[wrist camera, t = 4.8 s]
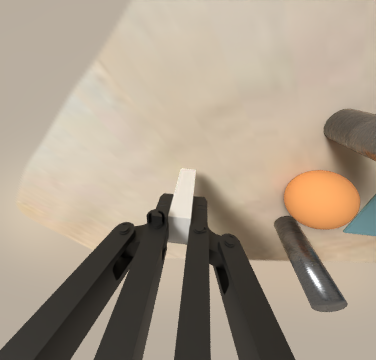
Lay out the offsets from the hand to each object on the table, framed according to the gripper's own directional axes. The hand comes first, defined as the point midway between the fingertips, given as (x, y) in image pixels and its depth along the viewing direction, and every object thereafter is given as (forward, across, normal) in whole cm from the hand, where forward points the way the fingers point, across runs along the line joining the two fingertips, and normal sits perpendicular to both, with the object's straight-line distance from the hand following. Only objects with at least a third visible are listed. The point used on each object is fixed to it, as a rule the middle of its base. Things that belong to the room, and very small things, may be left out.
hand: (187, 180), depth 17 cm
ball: (-1, -12, 0) cm, 13 cm away
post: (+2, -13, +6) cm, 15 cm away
